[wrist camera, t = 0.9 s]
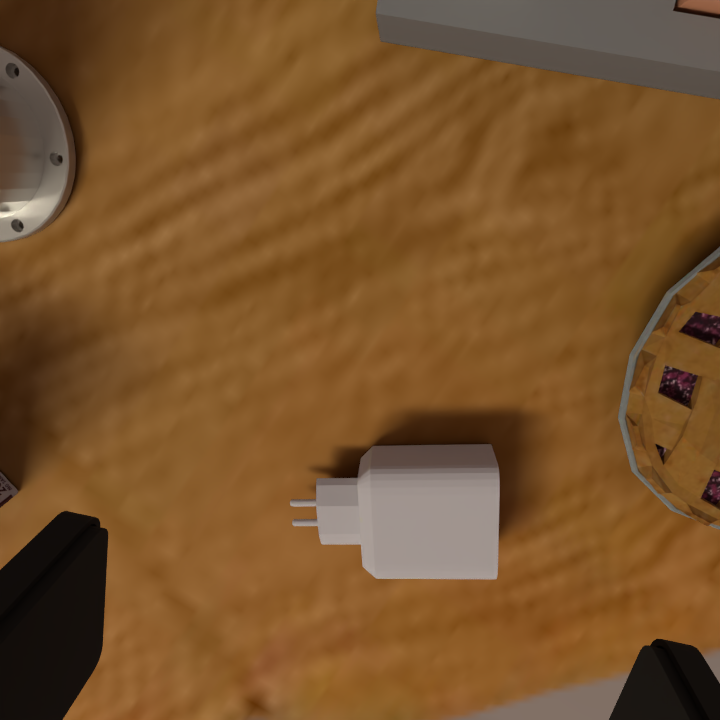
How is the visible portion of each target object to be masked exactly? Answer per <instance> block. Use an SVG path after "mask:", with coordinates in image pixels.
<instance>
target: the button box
mask: <svg viewBox="0 0 720 720" xmlns="http://www.w3.org/2000/svg"><path fill="white" fill-rule="evenodd" d="M675 2H676V0H378V2H377V9H376V17H377V23H378V29H379V35H380V40H381V41H382V42H388V43H393V44H399V45H405V46H411V47H417V48H423V49H429V50H434V51H440V52H446V53H452V54H458V55H464V56H470V57H475V58H481V59H487V60H493V61H499V62H505V63H510V64H516V65H522V66H528V67H534V68H540V69H546V70H551V71H557V72H563V73H569V74H575V75H581V76H587V77H592V78H598V79H604V80H610V81H616V82H622V83H628V84H633V85H639V86H645V87H651V88H657V89H663V90H668V91H674V92H680V93H686V94H692V95H698V96H704V97H709V98H715V99H720V19H718V18H712V17H706V16H700V15H694V14H688V13H682V12H676V11H673V9H674V6H675Z"/></svg>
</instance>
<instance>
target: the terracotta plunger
mask: <svg viewBox="0 0 720 720" xmlns="http://www.w3.org/2000/svg"><path fill="white" fill-rule="evenodd" d="M673 11H676V12H682V13H688V14H694V15H700V16H706V17H712V18H718V19H720V0H676V2H675V6H674V9H673Z"/></svg>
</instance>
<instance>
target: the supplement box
mask: <svg viewBox="0 0 720 720" xmlns="http://www.w3.org/2000/svg"><path fill="white" fill-rule="evenodd" d="M17 493H18V490H17V489H16V488H15V486H13V485H12V484H11V483H10V482H9V481H8V480H7V478H6V477H5V476H4V475H3V474H2V473H1V472H0V507H1V506H3V505H4V504H5V503H6V502H8V501H9V500H10V499H11V498H13V497H14V496H15V495H16V494H17Z"/></svg>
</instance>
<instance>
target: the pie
mask: <svg viewBox="0 0 720 720" xmlns="http://www.w3.org/2000/svg"><path fill="white" fill-rule="evenodd" d="M618 419H619V423H620V427H621V431H622V435H623V439H624V443H625V446H626V450H627V454H628V458H629V462H630V466H631V470H632V472H633V473H634V474H635V475H636V476H637V477H638V478H639V479H640V480H641V481H642V482H643V483H644V484H645V485H646V486H647V487H648V488H649V489H650V490H651V491H652V492H653V493H654V494H655V495H656V496H657V497H658V498H659V499H660V500H661V501H662V502H663V503H664V504H665V505H666V506H667V507H668V508H669V509H670V510H672V511H674V512H677V513H679V514H682V515H684V516H687V517H689V518H692V519H694V520H697V521H699V522H701V523H703V524H704V525H706V526H712V527H715V528H717V529H720V247H719V248H718V249H717V250H715V251H714V252H713V253H712V254H711V255H710V256H708V257H707V258H706V259H705V260H704V261H702V262H701V263H700V264H699V265H698V266H696V267H695V268H694V269H693V270H692V271H691V272H689V273H688V274H687V275H686V276H685V277H683V278H682V279H681V280H680V281H679V282H677V283H676V284H675V285H674V286H673V287H672V288H670V289H669V290H668V291H667V292H666V294H665V296H664V297H663V299H662V301H661V302H660V304H659V306H658V308H657V309H656V311H655V313H654V314H653V316H652V318H651V319H650V321H649V323H648V324H647V326H646V328H645V330H644V331H643V333H642V335H641V336H640V338H639V340H638V341H637V343H636V345H635V346H634V348H633V350H632V352H631V353H630V356H629V362H628V367H627V372H626V378H625V383H624V388H623V393H622V399H621V404H620V409H619V415H618Z"/></svg>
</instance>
